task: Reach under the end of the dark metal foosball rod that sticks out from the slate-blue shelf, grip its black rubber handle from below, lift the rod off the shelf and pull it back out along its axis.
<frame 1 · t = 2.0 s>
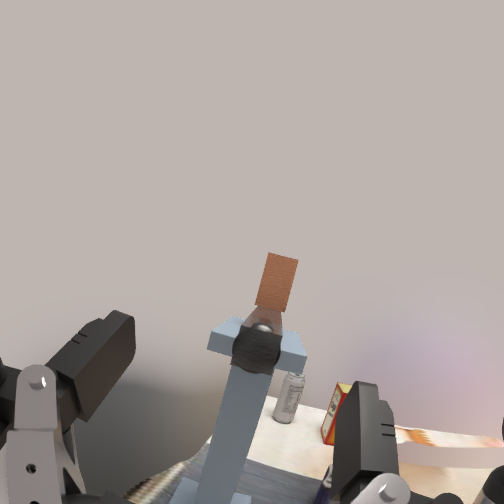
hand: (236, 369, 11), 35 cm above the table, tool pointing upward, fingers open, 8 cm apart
energy drink can: (281, 420, 85), on the table
baking soda box: (332, 439, 77), on the table
foosball rod: (259, 344, 32), point 32 cm above the table, touching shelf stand
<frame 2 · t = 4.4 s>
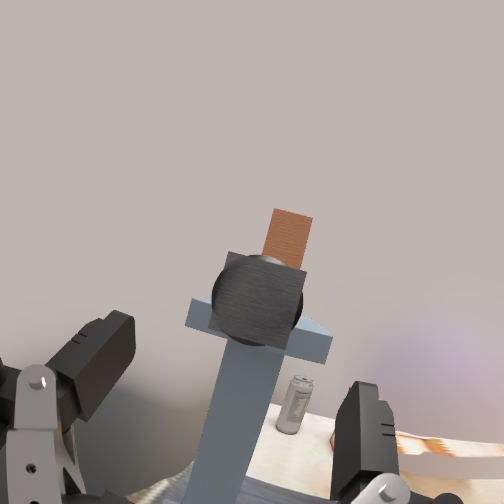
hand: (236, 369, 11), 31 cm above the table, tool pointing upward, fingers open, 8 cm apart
energy drink can: (286, 430, 74), on the table
foosball rod: (261, 318, 22), point 32 cm above the table, touching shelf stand
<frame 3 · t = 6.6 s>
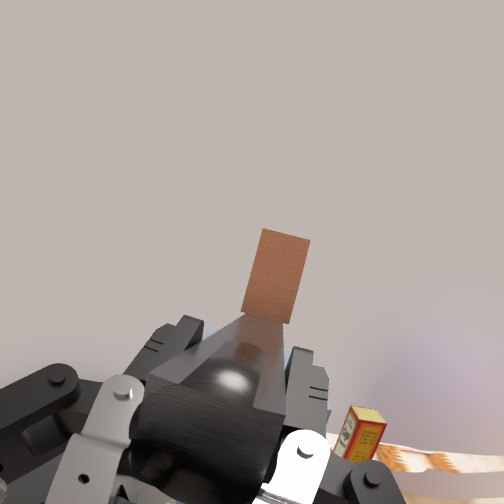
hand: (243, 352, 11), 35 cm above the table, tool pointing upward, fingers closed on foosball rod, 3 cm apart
baking soda box: (344, 471, 60), on the table
foosball rod: (239, 388, 16), point 32 cm above the table, touching gripper, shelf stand
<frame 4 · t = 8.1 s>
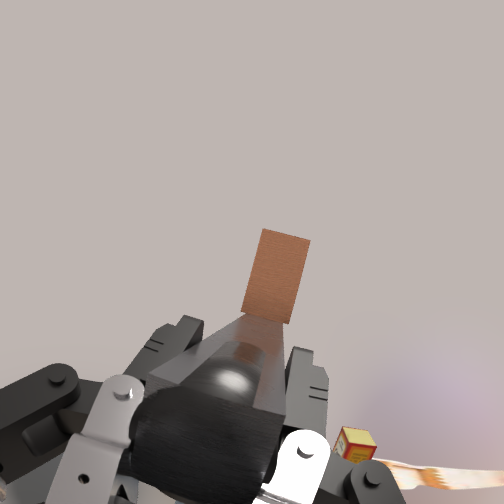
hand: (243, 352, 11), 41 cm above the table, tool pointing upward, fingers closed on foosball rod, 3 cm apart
baking soda box: (334, 489, 59), on the table
foosball rod: (239, 388, 16), point 38 cm above the table, touching gripper
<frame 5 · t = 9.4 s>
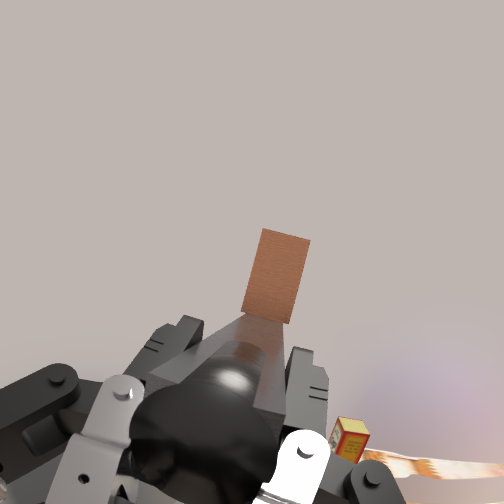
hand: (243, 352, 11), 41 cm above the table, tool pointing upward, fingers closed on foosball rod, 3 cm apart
baking soda box: (331, 476, 66), on the table
foosball rod: (239, 388, 16), point 38 cm above the table, touching gripper
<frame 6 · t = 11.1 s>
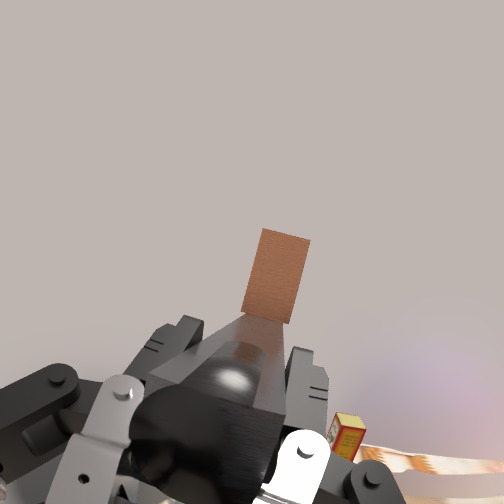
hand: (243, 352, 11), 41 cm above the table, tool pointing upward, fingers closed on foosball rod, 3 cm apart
baking soda box: (330, 469, 69), on the table
foosball rod: (239, 388, 16), point 38 cm above the table, touching gripper
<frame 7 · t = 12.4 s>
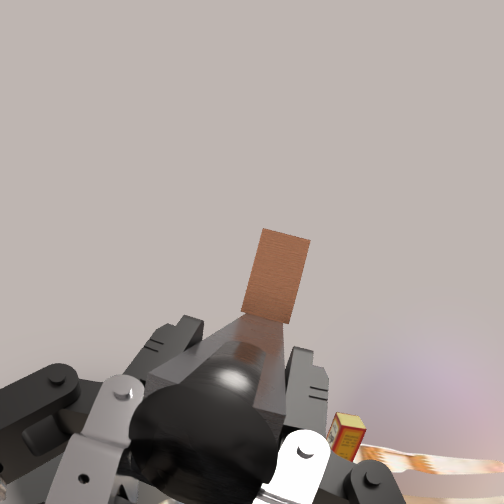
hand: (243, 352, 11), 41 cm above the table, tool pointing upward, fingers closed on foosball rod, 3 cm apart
baking soda box: (330, 469, 69), on the table
foosball rod: (239, 388, 16), point 38 cm above the table, touching gripper
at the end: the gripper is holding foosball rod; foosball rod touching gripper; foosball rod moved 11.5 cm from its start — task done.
